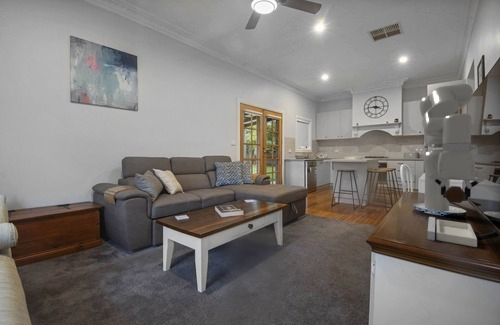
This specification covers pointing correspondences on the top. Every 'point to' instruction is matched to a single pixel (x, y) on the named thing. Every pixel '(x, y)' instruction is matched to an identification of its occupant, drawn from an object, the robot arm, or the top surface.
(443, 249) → the top surface
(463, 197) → the dark brown dumbbell
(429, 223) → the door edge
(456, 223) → the tray
